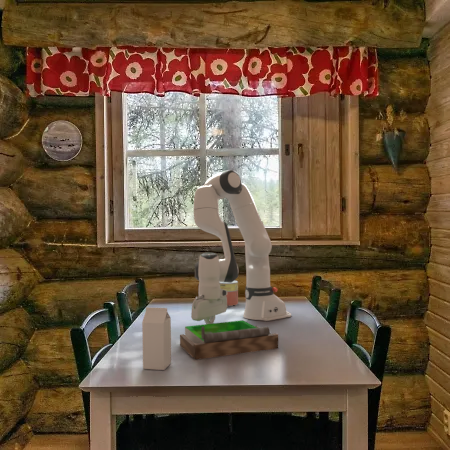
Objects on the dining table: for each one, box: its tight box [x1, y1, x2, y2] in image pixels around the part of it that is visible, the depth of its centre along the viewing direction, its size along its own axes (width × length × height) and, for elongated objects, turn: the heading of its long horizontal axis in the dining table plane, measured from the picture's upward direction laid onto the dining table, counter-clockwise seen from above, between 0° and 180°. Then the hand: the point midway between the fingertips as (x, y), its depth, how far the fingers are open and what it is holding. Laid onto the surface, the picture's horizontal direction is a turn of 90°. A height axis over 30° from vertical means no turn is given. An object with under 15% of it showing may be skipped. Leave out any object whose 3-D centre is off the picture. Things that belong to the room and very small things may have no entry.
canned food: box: [220, 279, 239, 307], centre depth 245 cm, size 11×11×12 cm
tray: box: [184, 320, 257, 343], centre depth 174 cm, size 25×25×5 cm
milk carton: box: [141, 306, 172, 371], centre depth 148 cm, size 7×7×19 cm
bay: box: [179, 325, 279, 361], centre depth 168 cm, size 32×18×10 cm, turn 112°
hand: (209, 327), depth 187 cm, fingers closed
